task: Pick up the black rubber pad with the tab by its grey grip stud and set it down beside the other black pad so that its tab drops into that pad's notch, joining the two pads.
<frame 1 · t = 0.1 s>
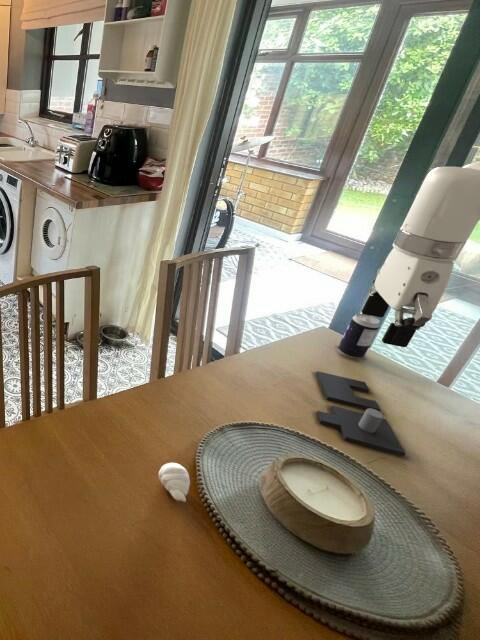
hand: (381, 329, 75), 31 cm above the table, tool pointing down, fingers open, 9 cm apart
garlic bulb: (173, 494, 79), on the table
notch pad: (345, 392, 103), on the table
beverage can: (349, 354, 116), on the table
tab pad: (364, 430, 92), on the table
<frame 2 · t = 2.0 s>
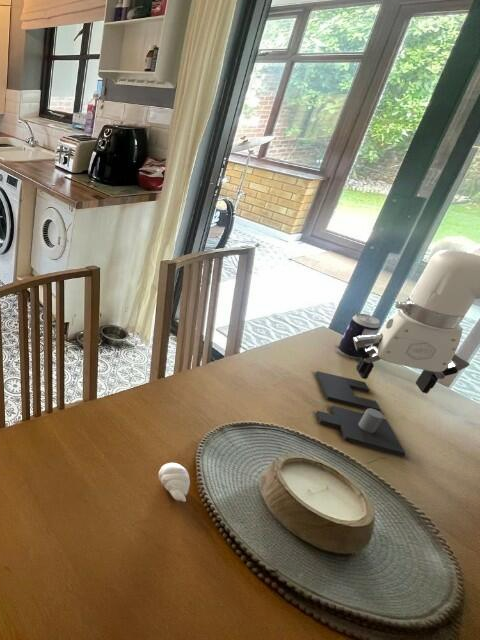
hand: (390, 381, 86), 15 cm above the table, tool pointing down, fingers open, 9 cm apart
nothing on the table moved.
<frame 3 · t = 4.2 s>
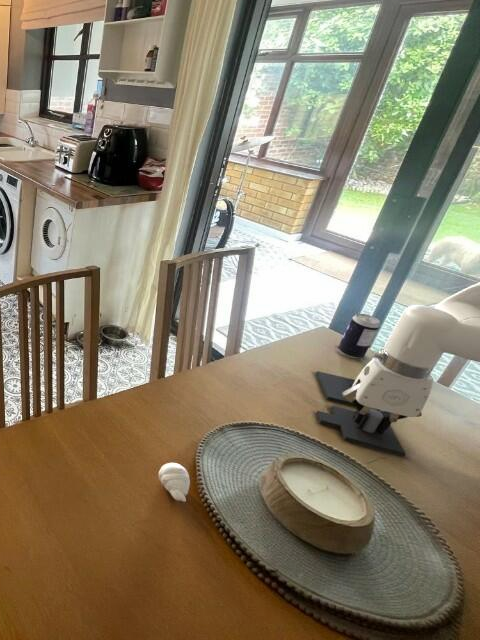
hand: (367, 426, 91), 1 cm above the table, tool pointing down, fingers closed on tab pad, 2 cm apart
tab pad: (364, 430, 92), on the table, touching gripper
everything else where it was.
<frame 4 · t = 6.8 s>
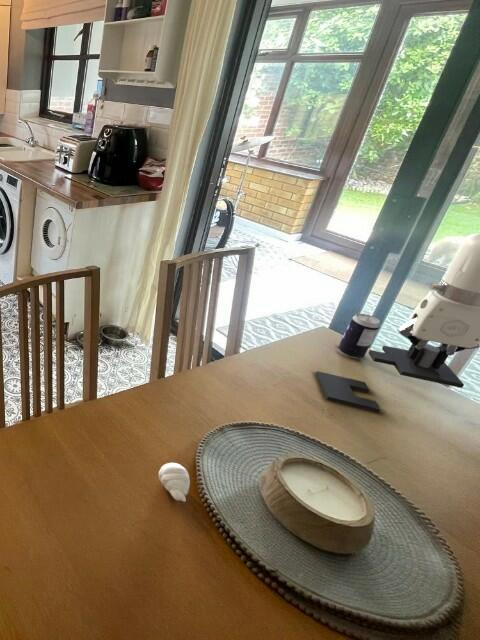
hand: (422, 362, 92), 14 cm above the table, tool pointing down, fingers closed on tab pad, 2 cm apart
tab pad: (419, 367, 93), point 12 cm above the table, touching gripper
everything else where it was.
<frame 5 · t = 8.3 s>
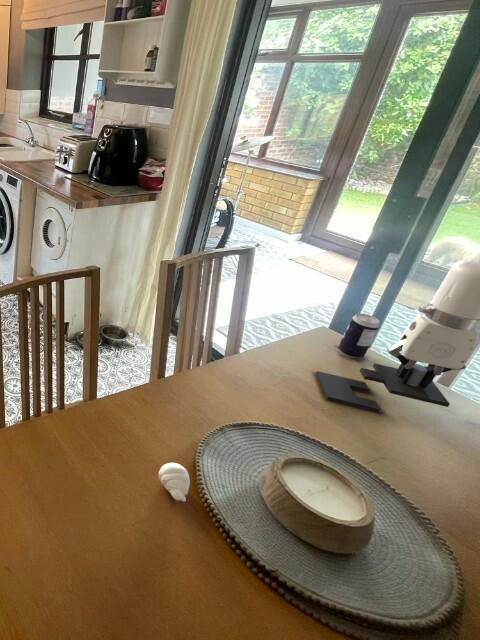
hand: (410, 381, 96), 7 cm above the table, tool pointing down, fingers closed on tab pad, 2 cm apart
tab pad: (407, 385, 96), point 6 cm above the table, touching gripper
everything else where it was.
when the fingers open (2 cm above the table, at t = 9.7 s): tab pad stays where it is, resting on notch pad.
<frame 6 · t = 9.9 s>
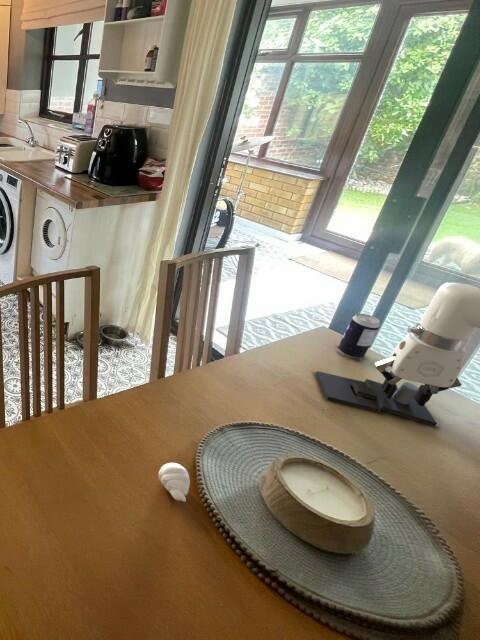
hand: (401, 397, 98), 2 cm above the table, tool pointing down, fingers open, 5 cm apart
notch pad: (345, 392, 103), on the table, touching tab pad
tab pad: (397, 402, 99), point 1 cm above the table, tilted 6°, touching notch pad
everything else where it was.
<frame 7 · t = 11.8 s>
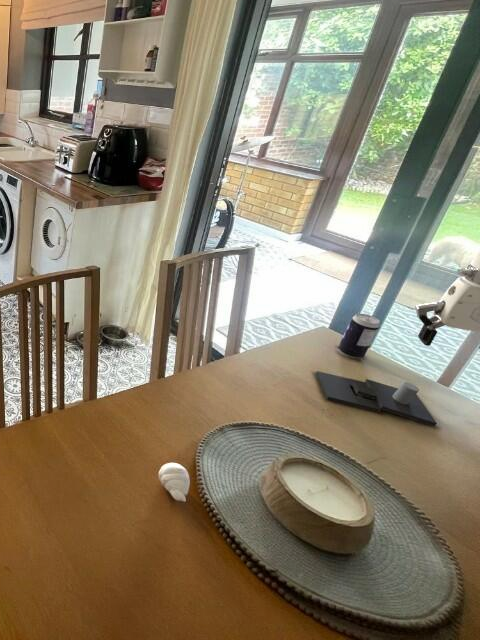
hand: (453, 347, 89), 19 cm above the table, tool pointing down, fingers open, 9 cm apart
nothing on the table moved.
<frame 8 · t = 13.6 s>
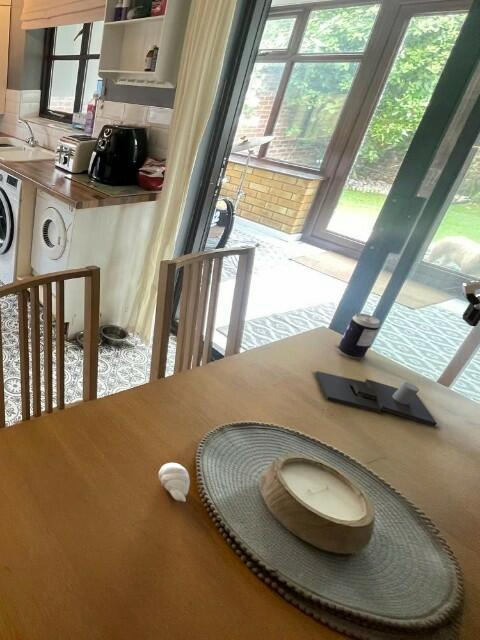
nothing on the table moved.
at the end: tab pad 0.1 cm from the target spot on the table beside the notch pad, point 0.5 cm above the table; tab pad tilted 6°; the gripper is holding nothing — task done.
